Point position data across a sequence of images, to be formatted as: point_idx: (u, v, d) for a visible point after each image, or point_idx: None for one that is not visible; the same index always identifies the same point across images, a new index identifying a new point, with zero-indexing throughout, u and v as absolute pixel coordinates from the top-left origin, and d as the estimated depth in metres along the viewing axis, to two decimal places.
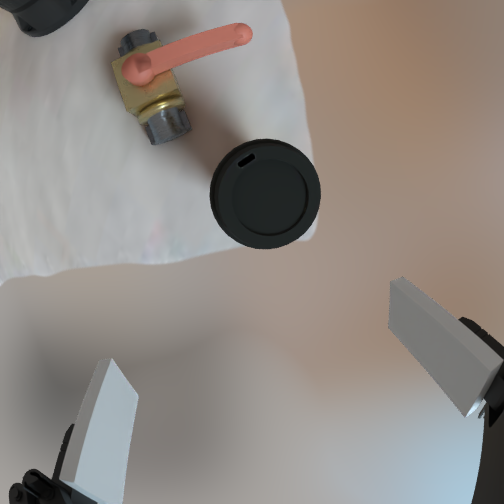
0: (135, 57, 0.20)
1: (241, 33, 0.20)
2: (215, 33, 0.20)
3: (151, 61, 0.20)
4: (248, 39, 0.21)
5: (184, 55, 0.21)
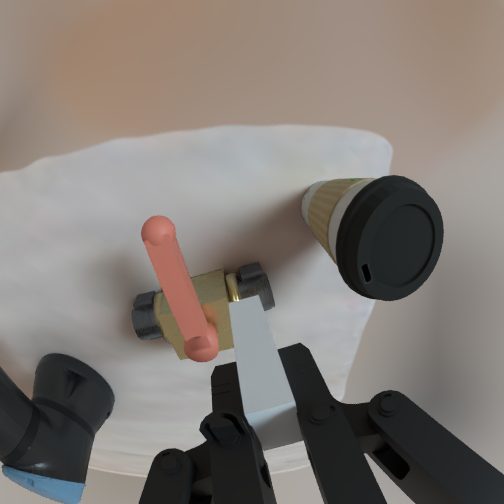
0: (189, 350, 0.23)
1: (162, 237, 0.19)
2: (163, 269, 0.20)
3: (197, 335, 0.23)
4: (168, 224, 0.20)
5: (193, 302, 0.22)
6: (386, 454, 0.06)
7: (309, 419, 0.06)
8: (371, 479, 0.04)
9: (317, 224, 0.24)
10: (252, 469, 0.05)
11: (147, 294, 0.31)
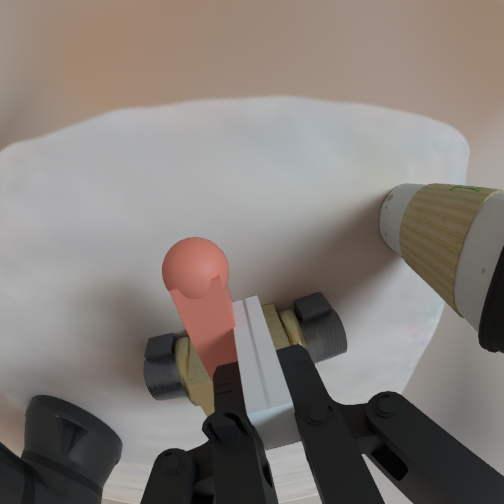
0: None
1: (208, 283, 0.10)
2: (207, 338, 0.11)
3: None
4: (218, 256, 0.11)
5: None
6: (384, 455, 0.06)
7: (307, 420, 0.06)
8: (369, 480, 0.04)
9: (429, 249, 0.14)
10: (254, 469, 0.05)
11: (164, 339, 0.21)
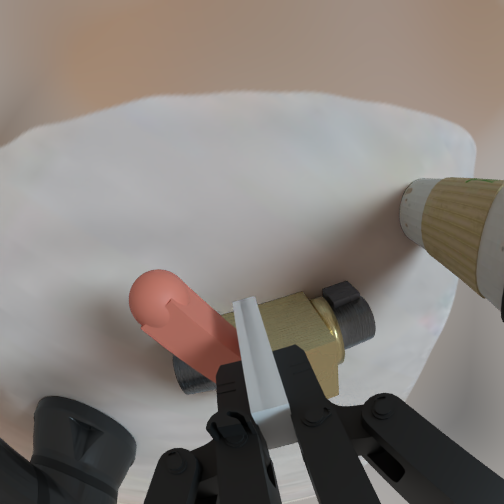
0: None
1: (164, 309, 0.10)
2: (194, 354, 0.11)
3: None
4: (165, 281, 0.11)
5: None
6: (381, 457, 0.06)
7: (302, 421, 0.06)
8: (365, 481, 0.04)
9: (451, 234, 0.15)
10: (259, 468, 0.05)
11: None
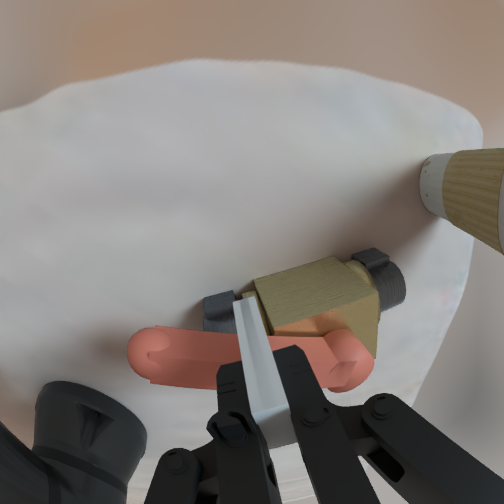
0: (341, 387, 0.14)
1: (150, 362, 0.11)
2: (200, 379, 0.12)
3: (328, 372, 0.14)
4: (140, 340, 0.12)
5: None
6: (380, 457, 0.06)
7: (302, 422, 0.06)
8: (365, 481, 0.04)
9: (472, 194, 0.15)
10: (259, 468, 0.05)
11: (223, 296, 0.21)
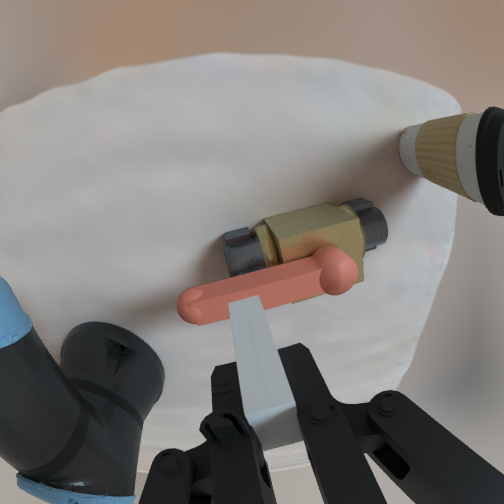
0: (337, 289, 0.20)
1: (192, 308, 0.19)
2: (228, 310, 0.19)
3: (319, 279, 0.19)
4: (182, 298, 0.19)
5: (273, 280, 0.19)
6: (386, 454, 0.06)
7: (309, 419, 0.06)
8: (371, 479, 0.04)
9: (436, 149, 0.19)
10: (252, 469, 0.05)
11: (239, 230, 0.27)
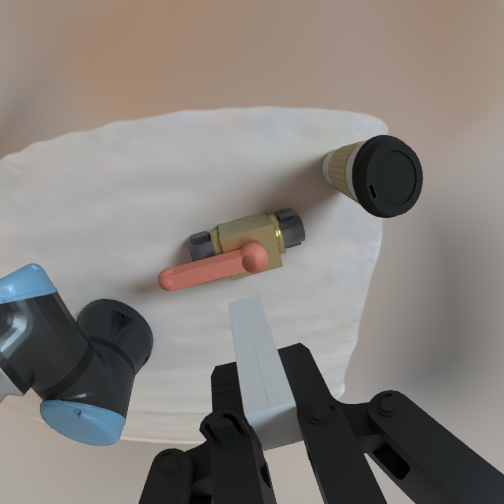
0: (255, 269, 0.33)
1: (166, 280, 0.32)
2: (187, 281, 0.32)
3: (241, 262, 0.32)
4: (161, 274, 0.32)
5: (213, 263, 0.32)
6: (386, 454, 0.06)
7: (309, 419, 0.06)
8: (371, 479, 0.04)
9: (336, 171, 0.33)
10: (252, 469, 0.05)
11: (201, 233, 0.40)
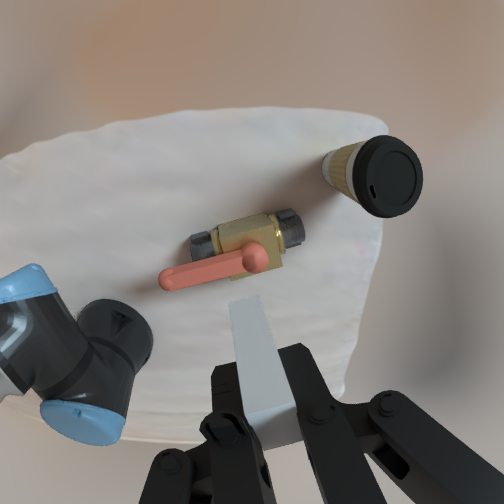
0: (255, 269, 0.33)
1: (166, 280, 0.32)
2: (187, 281, 0.32)
3: (241, 262, 0.32)
4: (161, 274, 0.32)
5: (213, 263, 0.32)
6: (386, 454, 0.06)
7: (309, 419, 0.06)
8: (371, 479, 0.04)
9: (337, 171, 0.33)
10: (252, 469, 0.05)
11: (201, 233, 0.40)
